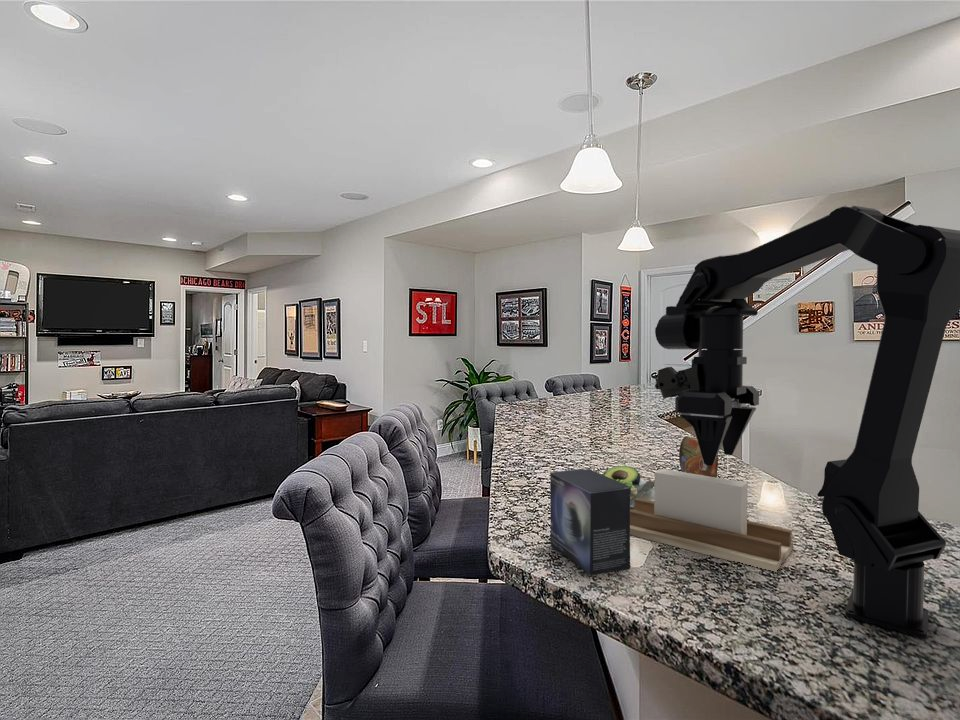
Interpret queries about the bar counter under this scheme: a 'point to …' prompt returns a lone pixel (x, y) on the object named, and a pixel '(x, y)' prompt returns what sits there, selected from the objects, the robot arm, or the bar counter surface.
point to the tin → (695, 459)
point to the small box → (590, 520)
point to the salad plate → (632, 482)
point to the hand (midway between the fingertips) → (719, 459)
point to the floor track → (714, 538)
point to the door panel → (701, 500)
